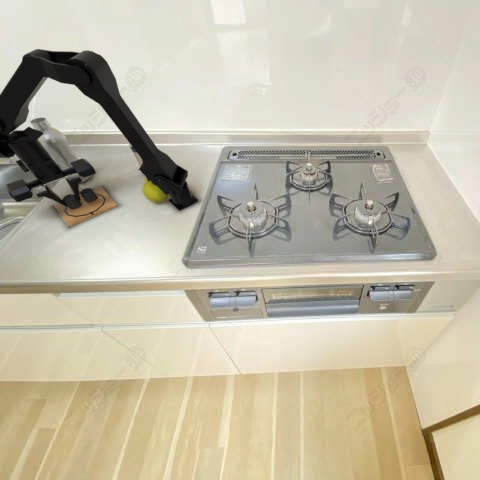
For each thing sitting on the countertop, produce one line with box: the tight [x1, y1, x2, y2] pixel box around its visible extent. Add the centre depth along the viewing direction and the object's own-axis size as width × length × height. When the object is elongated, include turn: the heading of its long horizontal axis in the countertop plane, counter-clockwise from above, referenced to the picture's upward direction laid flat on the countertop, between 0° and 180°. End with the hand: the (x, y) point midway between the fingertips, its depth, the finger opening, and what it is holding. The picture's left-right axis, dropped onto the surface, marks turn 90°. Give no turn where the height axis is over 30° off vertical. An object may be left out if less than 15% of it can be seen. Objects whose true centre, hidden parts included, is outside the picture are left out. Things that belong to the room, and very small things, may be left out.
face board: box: [53, 185, 118, 229], centre depth 83 cm, size 13×13×1 cm
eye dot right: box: [79, 187, 98, 202], centre depth 84 cm, size 3×3×3 cm
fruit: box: [137, 168, 170, 204], centre depth 82 cm, size 7×7×12 cm
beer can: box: [128, 142, 143, 167], centre depth 92 cm, size 5×5×12 cm
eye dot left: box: [61, 193, 81, 209], centre depth 82 cm, size 3×3×3 cm
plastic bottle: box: [29, 117, 92, 184], centre depth 85 cm, size 6×7×20 cm
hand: (73, 202), depth 82 cm, fingers closed on eye dot left, 3 cm apart
